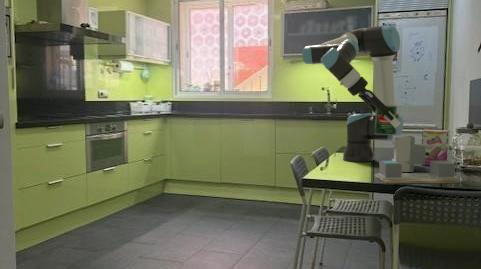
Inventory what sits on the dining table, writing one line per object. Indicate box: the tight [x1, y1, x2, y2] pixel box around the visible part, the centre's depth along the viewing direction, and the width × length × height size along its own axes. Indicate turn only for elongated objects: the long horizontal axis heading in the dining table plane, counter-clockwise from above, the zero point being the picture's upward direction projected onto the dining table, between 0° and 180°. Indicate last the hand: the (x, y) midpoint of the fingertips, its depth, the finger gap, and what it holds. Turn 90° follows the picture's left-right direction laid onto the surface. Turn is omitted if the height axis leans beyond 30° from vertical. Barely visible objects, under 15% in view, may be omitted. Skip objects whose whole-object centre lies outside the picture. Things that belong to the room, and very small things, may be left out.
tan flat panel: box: [375, 172, 459, 180], centre depth 181 cm, size 10×28×1 cm, turn 90°
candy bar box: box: [420, 129, 451, 167], centre depth 216 cm, size 11×5×16 cm, turn 57°
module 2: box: [429, 161, 456, 177], centre depth 181 cm, size 8×6×5 cm
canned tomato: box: [374, 105, 398, 135], centre depth 181 cm, size 8×8×11 cm
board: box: [374, 173, 462, 184], centre depth 181 cm, size 14×28×1 cm, turn 90°
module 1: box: [378, 160, 402, 177], centre depth 181 cm, size 8×6×5 cm
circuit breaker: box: [391, 135, 429, 173], centre depth 201 cm, size 8×14×15 cm, turn 78°
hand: (394, 124), depth 182 cm, fingers closed on canned tomato, 8 cm apart
